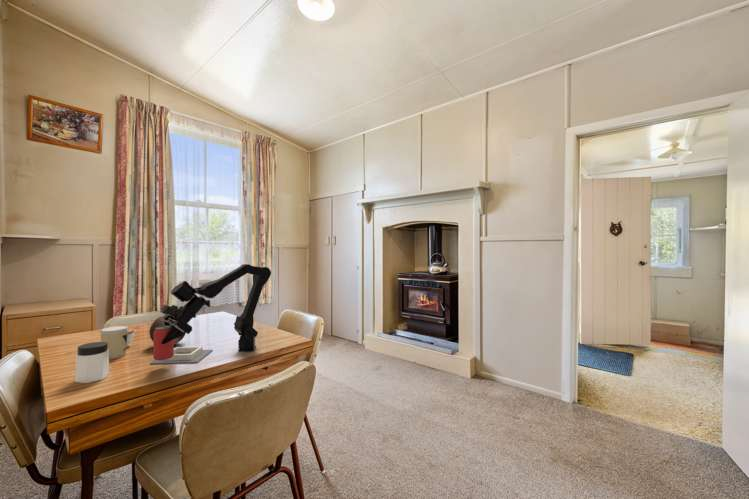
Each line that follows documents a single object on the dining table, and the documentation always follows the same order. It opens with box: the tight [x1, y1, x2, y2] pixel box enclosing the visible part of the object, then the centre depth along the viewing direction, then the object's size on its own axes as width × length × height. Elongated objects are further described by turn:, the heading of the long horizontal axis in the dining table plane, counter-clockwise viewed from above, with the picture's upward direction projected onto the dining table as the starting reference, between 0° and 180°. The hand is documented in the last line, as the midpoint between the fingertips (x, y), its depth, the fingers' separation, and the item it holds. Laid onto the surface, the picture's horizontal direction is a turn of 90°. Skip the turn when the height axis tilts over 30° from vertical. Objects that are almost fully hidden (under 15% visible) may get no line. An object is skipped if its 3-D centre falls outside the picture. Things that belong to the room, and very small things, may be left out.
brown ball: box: [149, 314, 187, 345], centre depth 153 cm, size 15×15×15 cm
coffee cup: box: [99, 325, 128, 360], centre depth 137 cm, size 9×9×12 cm
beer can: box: [152, 326, 175, 360], centre depth 124 cm, size 7×7×12 cm
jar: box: [75, 341, 110, 384], centre depth 114 cm, size 9×8×12 cm
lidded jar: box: [126, 327, 135, 348], centre depth 150 cm, size 11×11×9 cm
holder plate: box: [149, 346, 214, 365], centre depth 137 cm, size 18×16×3 cm
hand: (159, 341), depth 123 cm, fingers closed on beer can, 7 cm apart
